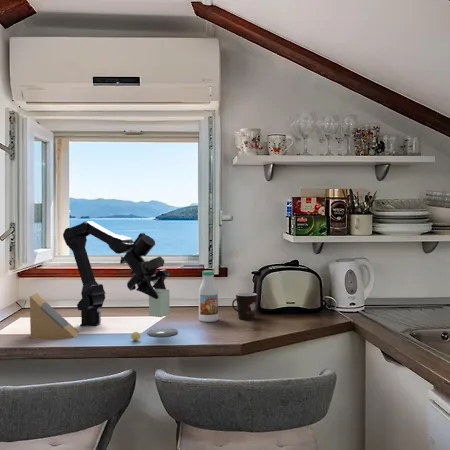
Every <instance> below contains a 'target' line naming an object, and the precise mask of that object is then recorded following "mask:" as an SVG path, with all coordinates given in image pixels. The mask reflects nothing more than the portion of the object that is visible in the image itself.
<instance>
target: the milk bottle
mask: <svg viewBox="0 0 450 450" xmlns="http://www.w3.org/2000/svg"><path fill="white" fill-rule="evenodd" d="M214 275H215V271H214V270H207V269H206V270H202V282H201V284H200V286H199V290H198V320H199V321H200V322H203V323H204V322H206V323H211V322H216V321H218V320H219V293H218V287H217V285H216V282H215V279H214V277H215V276H214Z"/></svg>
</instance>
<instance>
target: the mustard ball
mask: <svg viewBox="0 0 450 450" xmlns="http://www.w3.org/2000/svg"><path fill="white" fill-rule="evenodd" d="M130 335H131V336H130V339H131V340H132V341H138V340H139V339H140V338H141V334H140V332H138V331H133V332H132V333H131V334H130Z"/></svg>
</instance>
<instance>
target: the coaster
mask: <svg viewBox="0 0 450 450" xmlns="http://www.w3.org/2000/svg"><path fill="white" fill-rule="evenodd" d="M146 334H147V336H149V337H153V338H165V337H166V338H167V337H172V336H173V337H174V336H176V335H178V334H179V330H178V329H176V328H171V327H159V328H153V329H149V330H148V331H147V332H146Z"/></svg>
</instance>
